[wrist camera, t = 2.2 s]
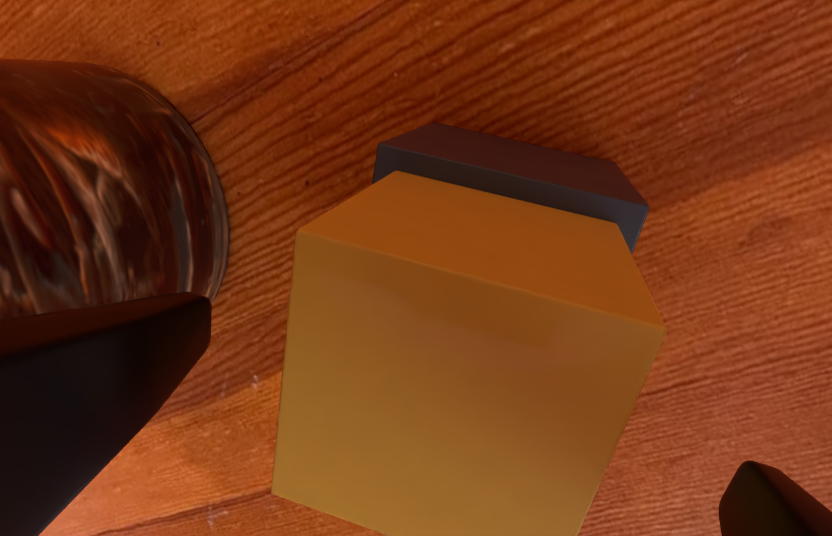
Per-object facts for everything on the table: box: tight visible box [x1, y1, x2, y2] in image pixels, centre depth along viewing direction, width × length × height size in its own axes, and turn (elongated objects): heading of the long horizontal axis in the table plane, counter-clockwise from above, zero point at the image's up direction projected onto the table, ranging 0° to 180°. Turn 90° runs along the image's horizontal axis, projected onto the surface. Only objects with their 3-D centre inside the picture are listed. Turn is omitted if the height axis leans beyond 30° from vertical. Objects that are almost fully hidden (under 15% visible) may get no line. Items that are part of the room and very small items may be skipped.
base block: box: [372, 122, 650, 254], centre depth 15 cm, size 6×6×6 cm
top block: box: [271, 171, 667, 536], centre depth 10 cm, size 5×5×5 cm
